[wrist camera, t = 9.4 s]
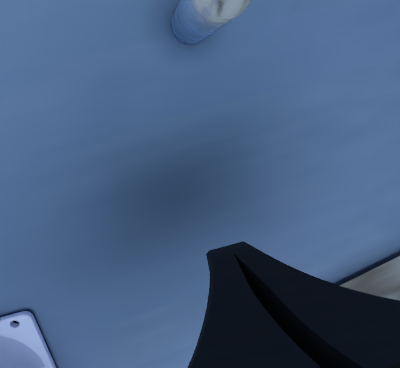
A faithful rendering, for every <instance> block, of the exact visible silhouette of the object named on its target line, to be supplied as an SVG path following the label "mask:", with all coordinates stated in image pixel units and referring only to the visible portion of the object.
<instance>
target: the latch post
mask: <svg viewBox="0 0 400 368" xmlns="http://www.w3.org/2000/svg"><path fill="white" fill-rule="evenodd" d="M250 1H251V0H181V1H180V2H179V4H178V6H177V8H176V10H175V12H174V14H173V16H172V21H171V25H172V30H173V33H174V35H175V36H176V37H177V39H178V40H180V41H181V42H183V43H185V44H190V45H192V44H196V43H199V42H200V41H202V40H203V39H205V38H206V37H207V36H209V35H210V34H212V33H213V32H215V31H216V30H218V29H219V28H221V27H222V26H223V25H225V24H226V23H228V22H229V21H231V20H232V19H234V18H235V17H236V16H238V15H239V14H241V13H242V12H243V11H244V10H245V9H246V8H247V6H248V5H249V3H250Z"/></svg>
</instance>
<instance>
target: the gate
mask: <svg viewBox="0 0 400 368" xmlns="http://www.w3.org/2000/svg"><path fill="white" fill-rule="evenodd" d="M340 286H342V287H345V288H349V289H352V290H356V291H360V292H364V293H368V294H372V295H376V296H380V297H385V298H390V299H395V300H400V256H399V257H397V258H395V259H392V260H390V261H388V262H386V263H384V264H382V265H380V266H378V267H376V268H374V269H372V270H370V271H368V272H366V273H364V274H362V275H360V276H358V277H356V278H354V279H352V280H350V281H348V282H346V283H344V284H342V285H340Z"/></svg>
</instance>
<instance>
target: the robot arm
mask: <svg viewBox="0 0 400 368" xmlns="http://www.w3.org/2000/svg"><path fill="white" fill-rule="evenodd" d="M207 260H208V265H209V270H210V288H209V296H208V303H207V309H206V314H205V318H204V322H203V326H202V330H201V333H200V336H199V339H198V343H197V346H196V348H195V351H194V354H193V356H192V359H191V361H190V363H189V366H188V368H400V300H395V299H390V298H385V297H380V296H376V295H372V294H368V293H364V292H360V291H356V290H352V289H349V288H345V287H342V286H339V285H336V284H333V283H330V282H327V281H324V280H321V279H319V278H316V277H313V276H311V275H308V274H306V273H304V272H302V271H299V270H297V269H295V268H293V267H290V266H288V265H286V264H284V263H282V262H280V261H278V260H276V259H274V258H272V257H271V256H269V255H267V254H265V253H263V252H261V251H260V250H258V249H256V248H254V247H253V246H251V245H249V244H247V243H245V242H239V243H236V244H232V245H228V246H225V247H221V248H218V249H214V250H210V251H209V252H208V253H207ZM13 321H18V322H19V323H14V322H13ZM0 368H56V366H55V364H54V361H53V359H52V357H51V355H50V352H49V350H48V348H47V345H46V343H45V341H44V339H43V336H42V334H41V332H40V330H39V327H38V325H37V323H36V320H35V318H34V316H33V314H32V313H30V312H28V311H22V312H18V313H15V314H11V315H7V316H4V317H0Z"/></svg>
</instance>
